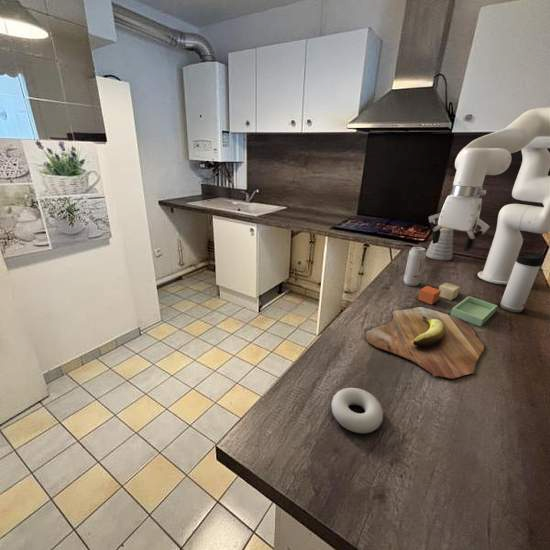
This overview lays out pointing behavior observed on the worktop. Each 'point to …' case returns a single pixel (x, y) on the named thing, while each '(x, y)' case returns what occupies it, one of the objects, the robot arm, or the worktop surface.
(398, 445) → the worktop surface
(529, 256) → the travel mug
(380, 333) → the cutting board
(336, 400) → the donut
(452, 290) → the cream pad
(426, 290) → the orange block
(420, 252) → the energy drink can
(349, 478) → the worktop surface
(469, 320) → the tray
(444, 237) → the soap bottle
